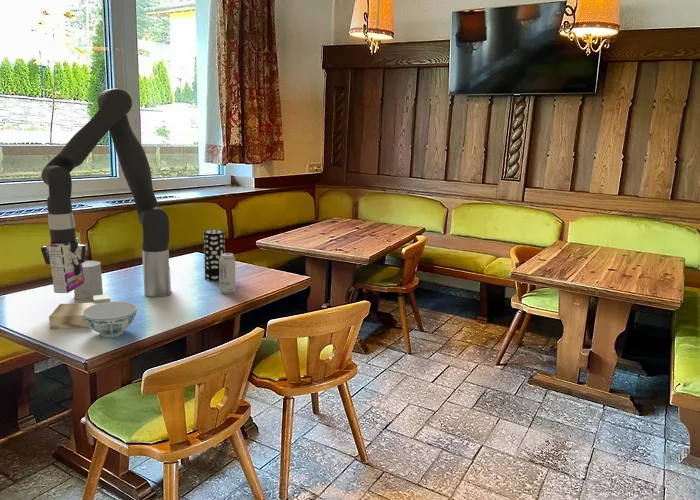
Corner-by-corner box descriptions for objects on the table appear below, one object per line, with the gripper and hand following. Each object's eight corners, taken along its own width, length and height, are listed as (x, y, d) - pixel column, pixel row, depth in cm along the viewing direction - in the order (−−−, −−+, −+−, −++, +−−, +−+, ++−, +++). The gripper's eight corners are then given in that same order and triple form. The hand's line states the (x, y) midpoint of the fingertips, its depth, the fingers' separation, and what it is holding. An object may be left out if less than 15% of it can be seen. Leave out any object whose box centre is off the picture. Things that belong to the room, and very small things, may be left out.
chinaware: (76, 342, 155) (73, 317, 153) (97, 323, 170) (95, 300, 168) (128, 343, 156) (126, 318, 154) (144, 324, 171) (143, 301, 169)
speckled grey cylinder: (91, 301, 190) (89, 268, 187) (68, 298, 192) (65, 265, 189) (108, 293, 199) (106, 261, 196) (86, 290, 201) (83, 259, 198)
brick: (109, 307, 184) (109, 294, 183) (111, 312, 180) (110, 298, 179) (94, 309, 182) (93, 295, 181) (94, 314, 178) (93, 300, 177)
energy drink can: (216, 292, 205) (215, 255, 201) (226, 288, 210) (226, 251, 206) (228, 295, 202) (227, 257, 198) (238, 291, 207) (238, 254, 204)
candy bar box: (70, 282, 185) (65, 237, 181) (84, 283, 185) (79, 237, 181) (52, 293, 174) (46, 245, 170) (67, 293, 174) (62, 245, 170)
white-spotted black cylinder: (229, 278, 224) (228, 231, 219) (214, 282, 217) (213, 234, 212) (215, 274, 228) (214, 229, 224) (200, 278, 221) (199, 232, 217)
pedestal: (100, 313, 178) (99, 302, 177) (92, 326, 167) (91, 315, 166) (61, 315, 175) (60, 303, 175) (50, 328, 164) (48, 316, 163)
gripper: (88, 223, 180) (93, 271, 184) (41, 224, 176) (47, 273, 181) (82, 228, 173) (88, 277, 177) (34, 229, 169) (40, 279, 173)
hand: (67, 275), depth 179 cm, fingers closed on candy bar box, 5 cm apart
